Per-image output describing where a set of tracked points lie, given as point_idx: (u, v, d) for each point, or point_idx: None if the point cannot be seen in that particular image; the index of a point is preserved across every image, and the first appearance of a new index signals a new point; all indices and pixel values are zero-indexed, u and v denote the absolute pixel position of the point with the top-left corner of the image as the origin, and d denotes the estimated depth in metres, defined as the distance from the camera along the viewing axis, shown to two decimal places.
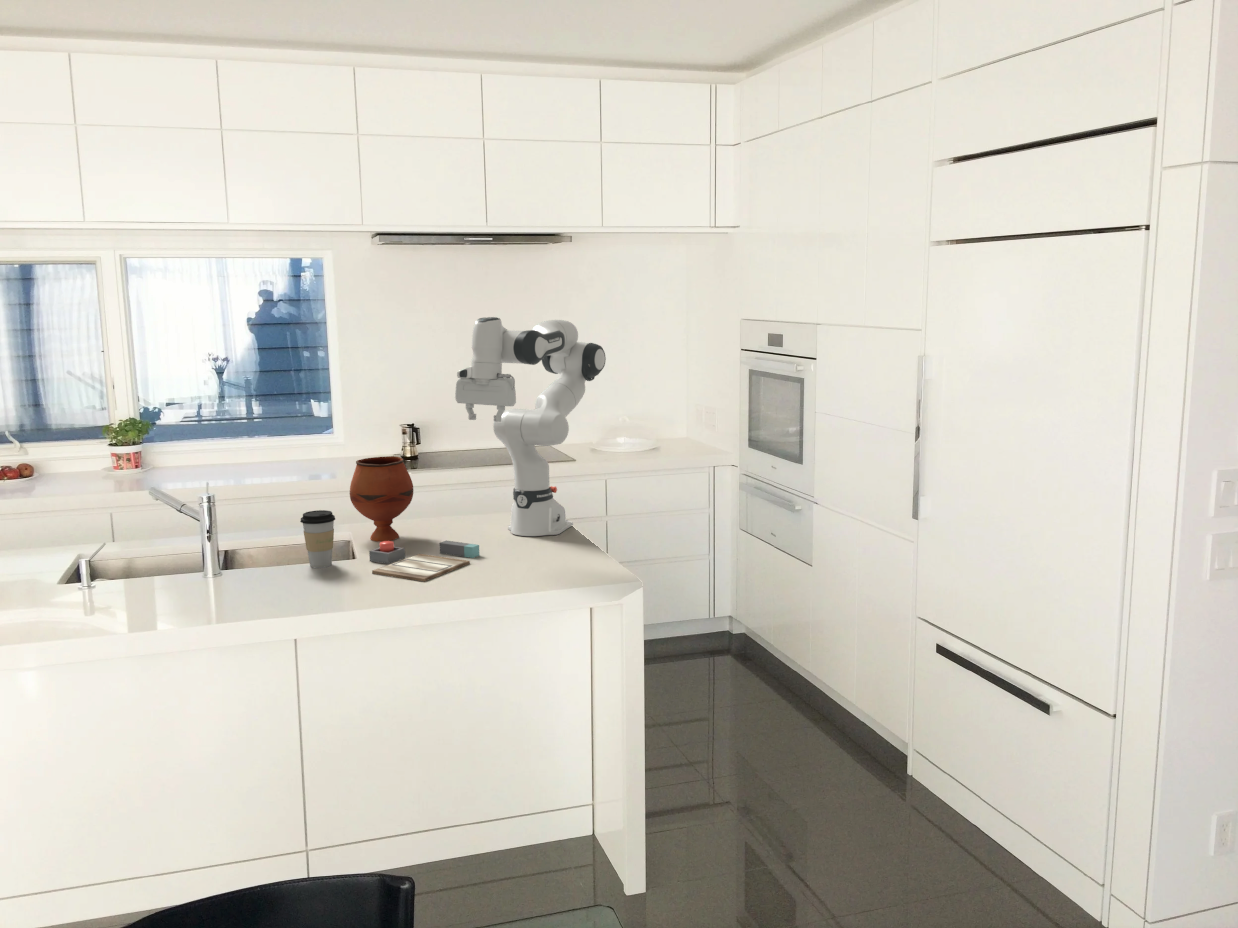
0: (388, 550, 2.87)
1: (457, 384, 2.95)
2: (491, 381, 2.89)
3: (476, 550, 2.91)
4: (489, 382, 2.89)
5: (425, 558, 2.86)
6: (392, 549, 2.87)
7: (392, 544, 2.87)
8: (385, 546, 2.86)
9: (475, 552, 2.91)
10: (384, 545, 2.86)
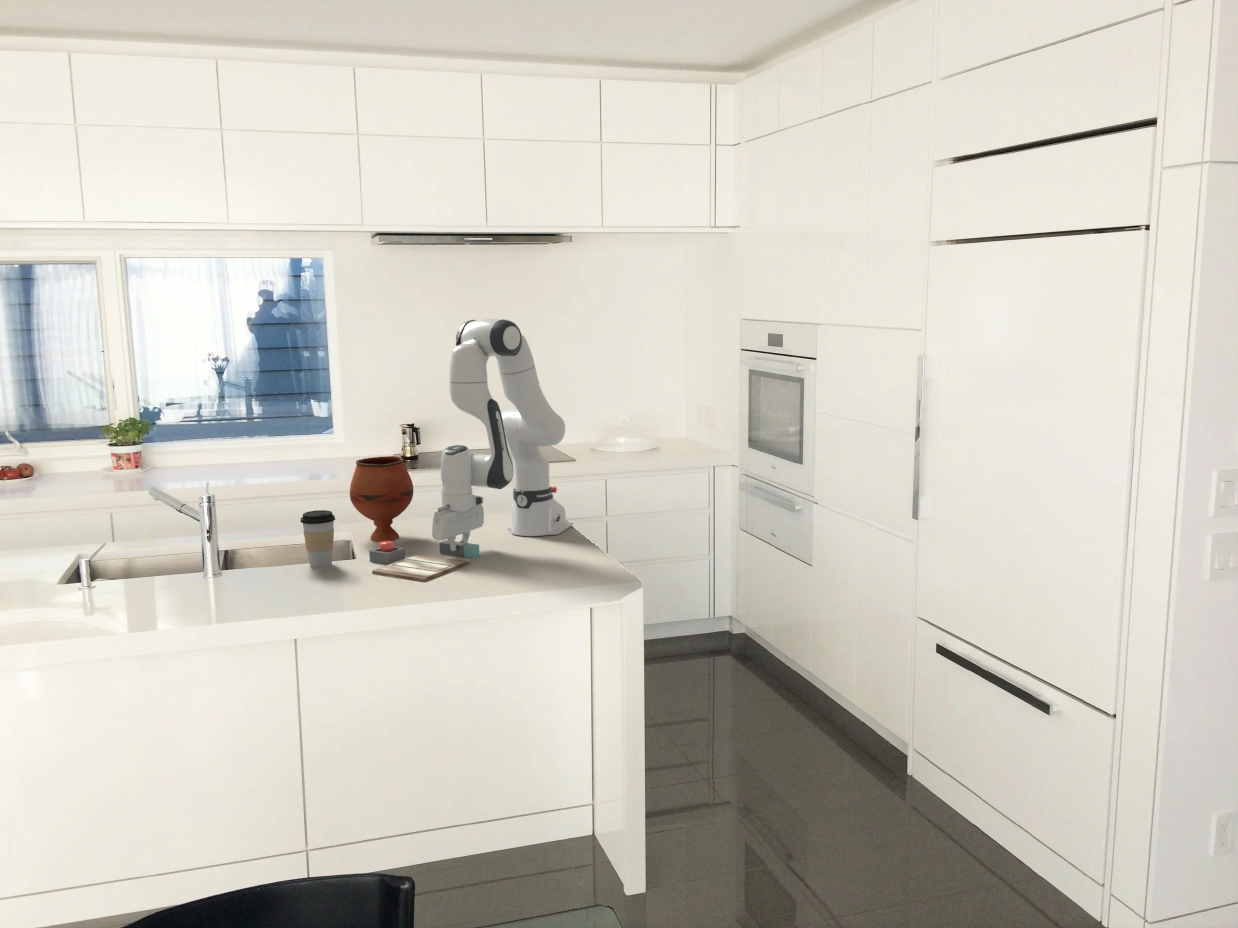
0: (388, 550, 2.87)
1: None
2: None
3: (476, 550, 2.91)
4: None
5: (425, 558, 2.86)
6: (392, 549, 2.87)
7: (392, 544, 2.87)
8: (385, 546, 2.86)
9: (475, 551, 2.91)
10: (384, 545, 2.86)
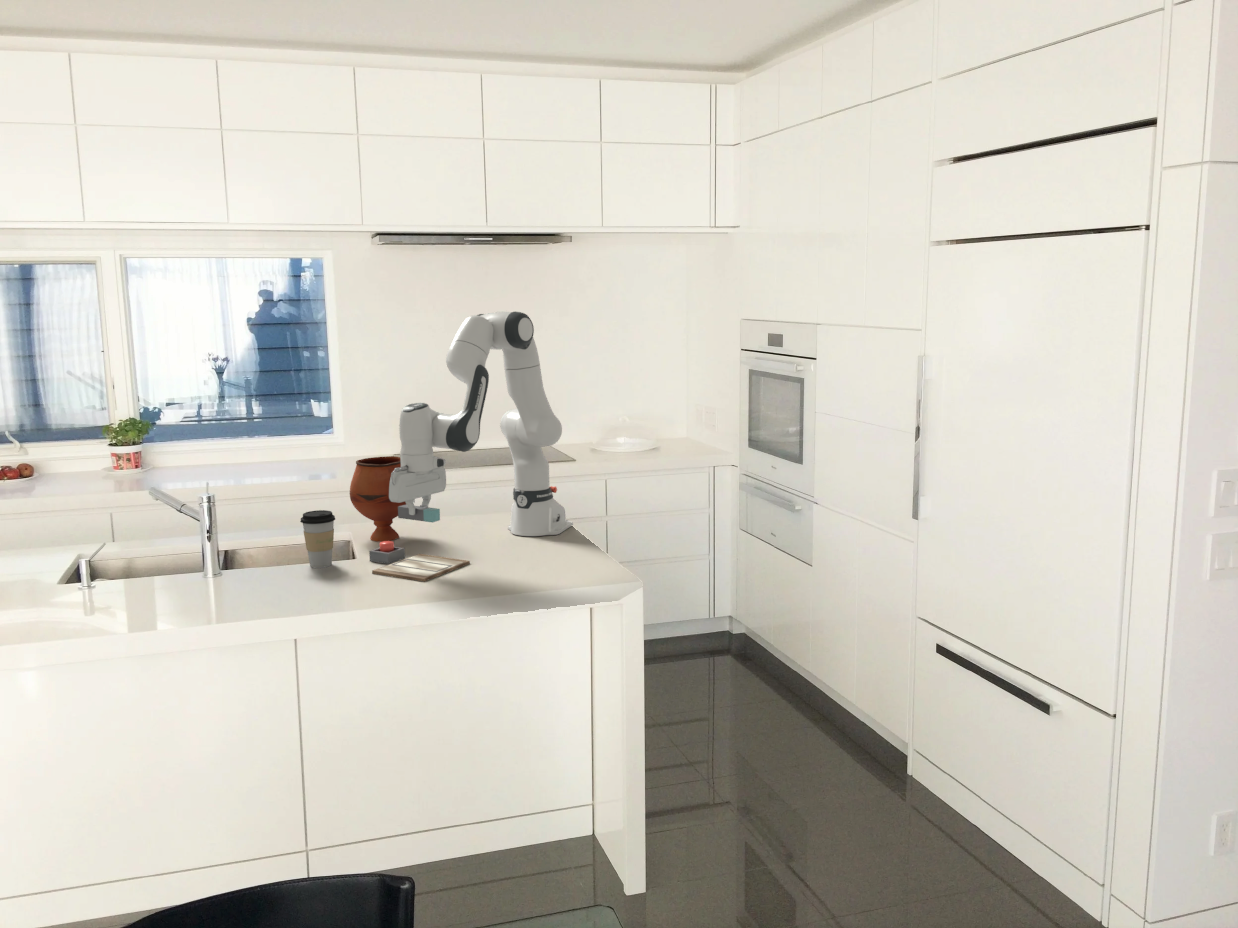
0: (388, 550, 2.87)
1: None
2: None
3: (436, 514, 2.74)
4: None
5: (425, 558, 2.86)
6: (392, 549, 2.87)
7: (392, 544, 2.87)
8: (385, 546, 2.86)
9: (435, 516, 2.73)
10: (384, 545, 2.86)
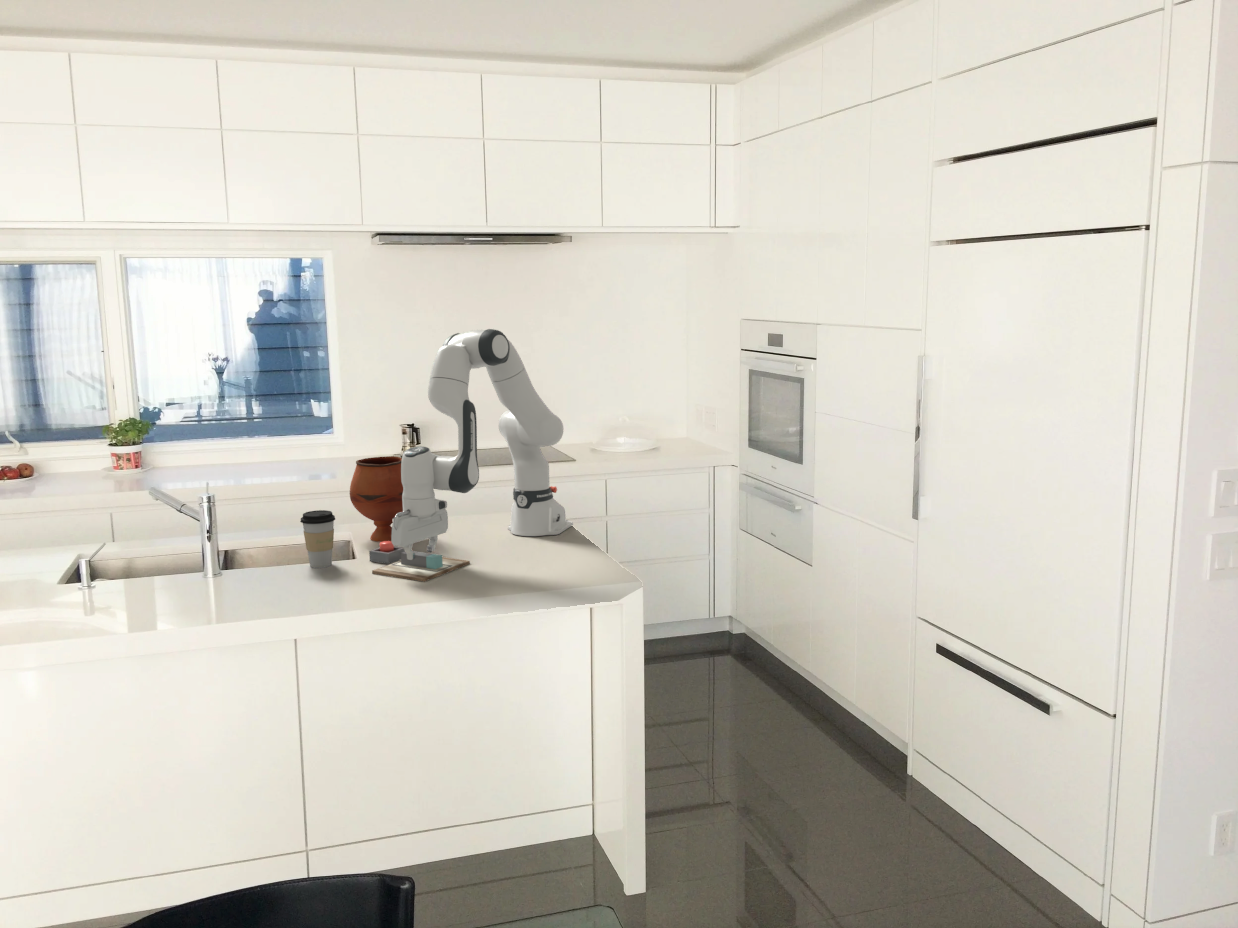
0: (388, 550, 2.87)
1: None
2: None
3: (439, 561, 2.76)
4: None
5: None
6: (392, 549, 2.87)
7: (392, 544, 2.87)
8: (385, 546, 2.86)
9: (438, 562, 2.76)
10: (384, 545, 2.86)
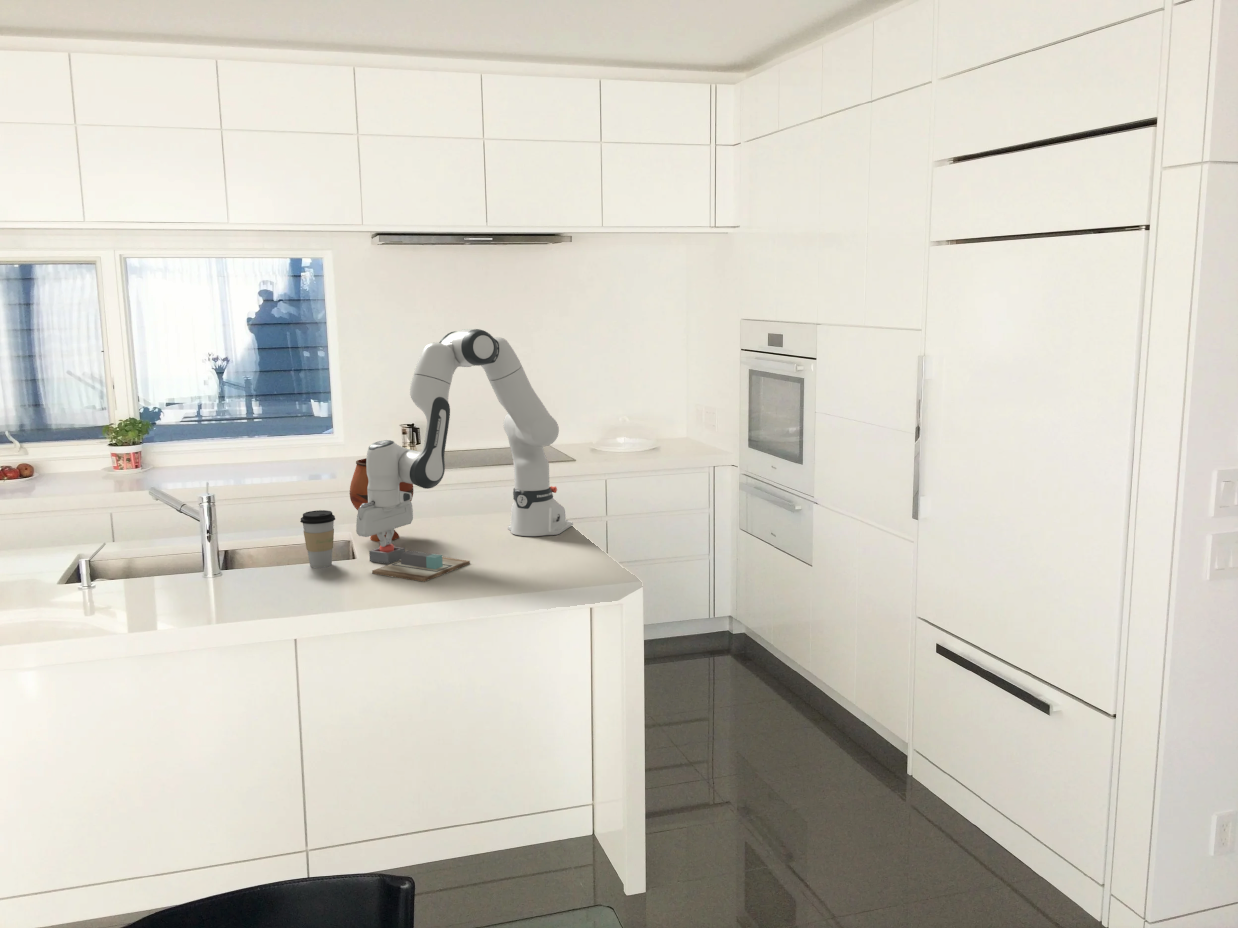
0: None
1: None
2: None
3: (439, 561, 2.76)
4: None
5: None
6: None
7: (392, 547, 2.88)
8: (385, 549, 2.86)
9: (438, 562, 2.76)
10: (384, 548, 2.86)
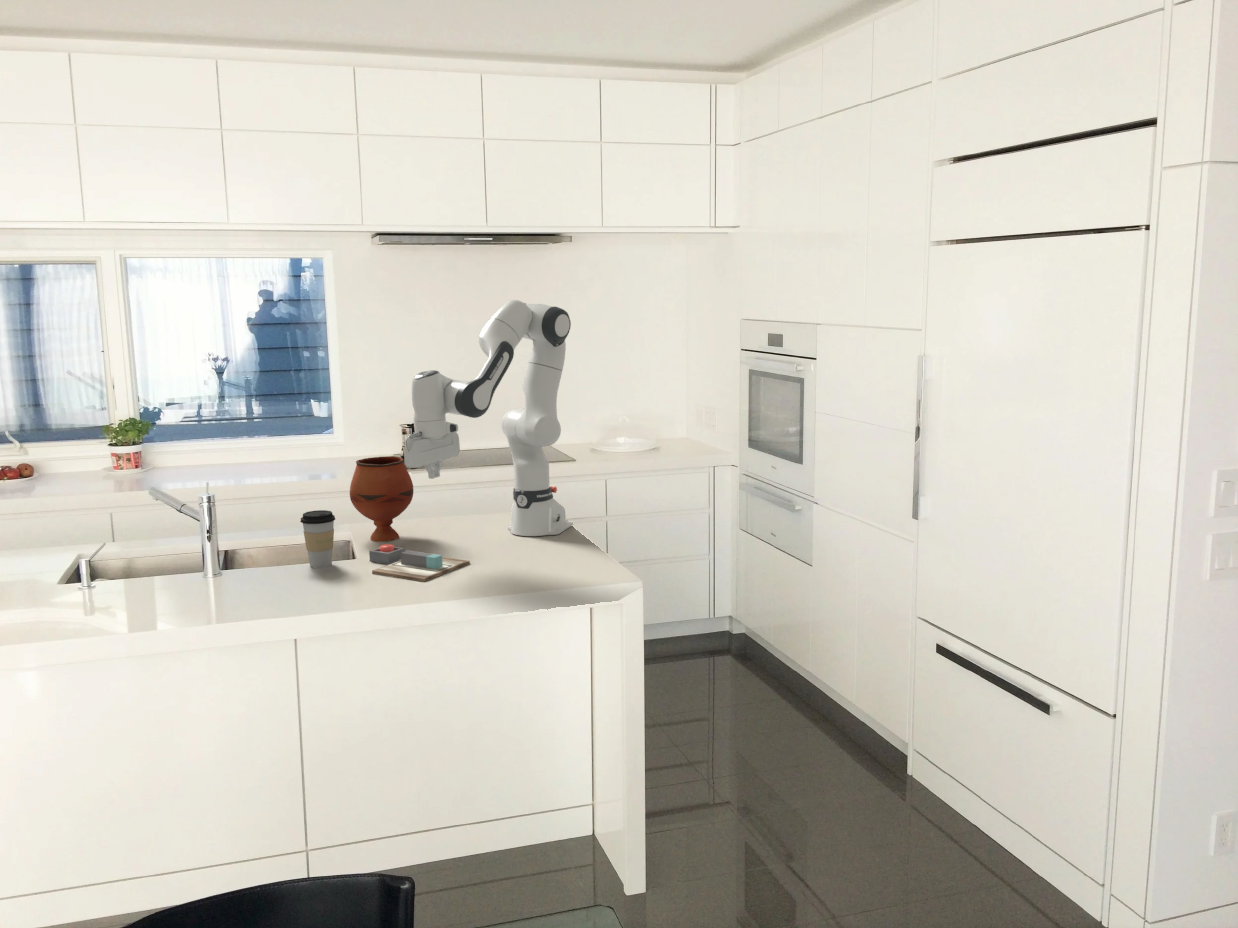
0: None
1: None
2: None
3: (439, 561, 2.76)
4: None
5: None
6: None
7: (392, 547, 2.88)
8: (385, 550, 2.86)
9: (438, 562, 2.76)
10: (384, 548, 2.86)
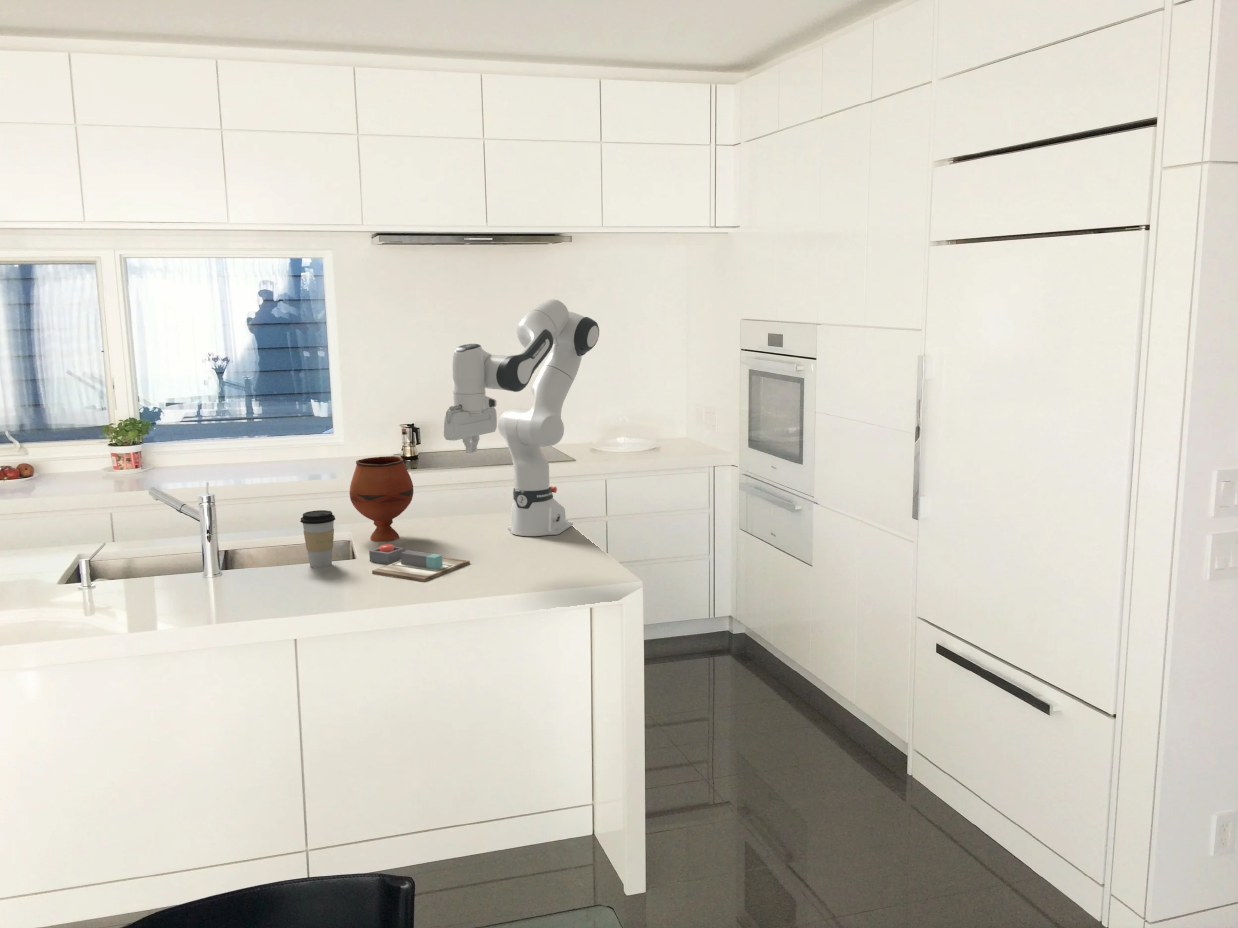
0: None
1: None
2: None
3: (439, 561, 2.76)
4: None
5: None
6: None
7: (392, 547, 2.88)
8: (385, 550, 2.86)
9: (438, 562, 2.76)
10: (384, 548, 2.86)
